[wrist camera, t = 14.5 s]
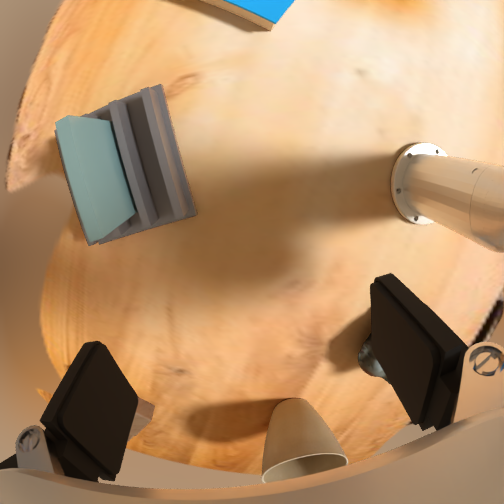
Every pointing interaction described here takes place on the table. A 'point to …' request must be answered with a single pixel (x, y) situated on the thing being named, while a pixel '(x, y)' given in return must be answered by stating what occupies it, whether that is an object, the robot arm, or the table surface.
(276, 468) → the plant pot
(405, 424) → the table surface
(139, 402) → the wooden block set
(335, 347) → the table surface
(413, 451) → the robot arm
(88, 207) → the thin teal board
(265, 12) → the book
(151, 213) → the dish rack
